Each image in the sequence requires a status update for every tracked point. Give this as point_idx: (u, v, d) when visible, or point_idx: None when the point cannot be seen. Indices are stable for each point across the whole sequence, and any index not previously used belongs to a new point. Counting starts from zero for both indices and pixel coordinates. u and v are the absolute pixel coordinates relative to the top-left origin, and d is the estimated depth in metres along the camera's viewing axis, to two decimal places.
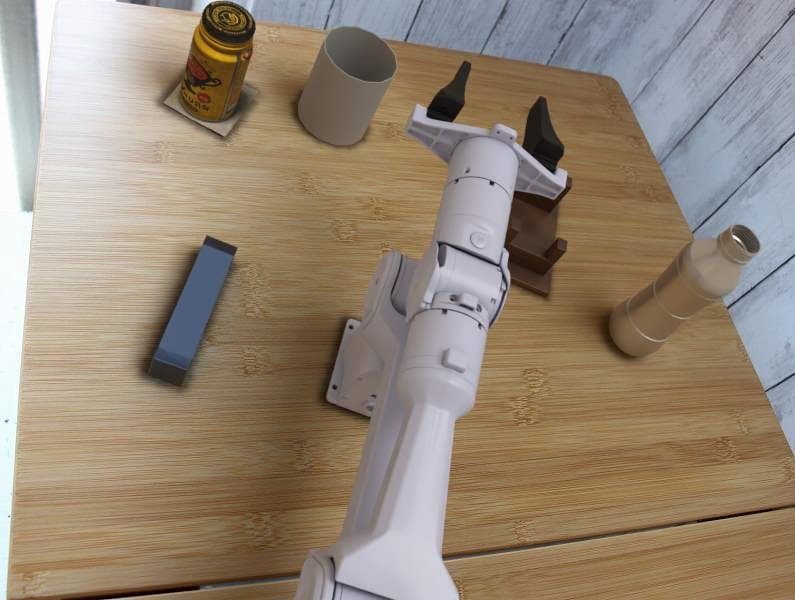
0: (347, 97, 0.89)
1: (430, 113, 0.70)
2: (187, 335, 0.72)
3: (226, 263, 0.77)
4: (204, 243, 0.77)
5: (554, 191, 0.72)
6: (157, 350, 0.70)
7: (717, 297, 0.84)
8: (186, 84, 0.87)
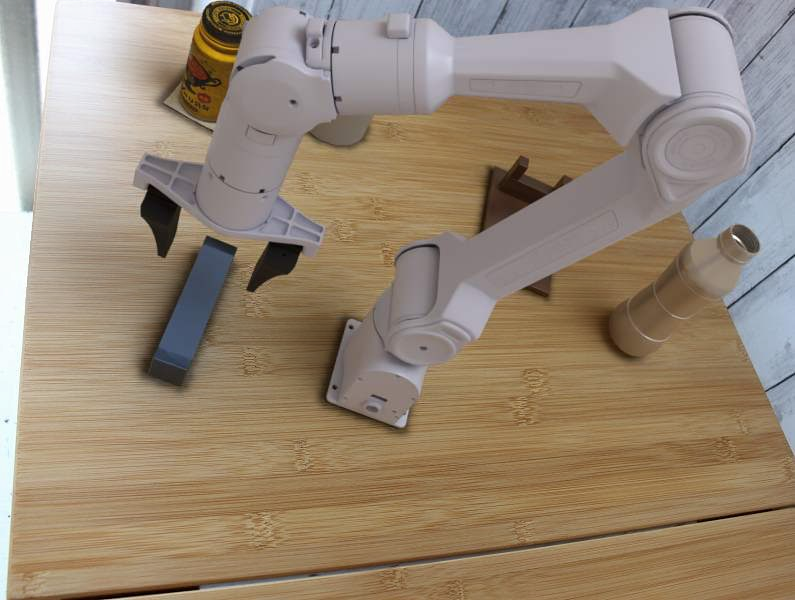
0: None
1: None
2: (187, 335, 0.72)
3: (226, 263, 0.77)
4: (204, 243, 0.77)
5: (317, 233, 0.64)
6: (157, 350, 0.70)
7: (717, 297, 0.84)
8: (186, 84, 0.87)
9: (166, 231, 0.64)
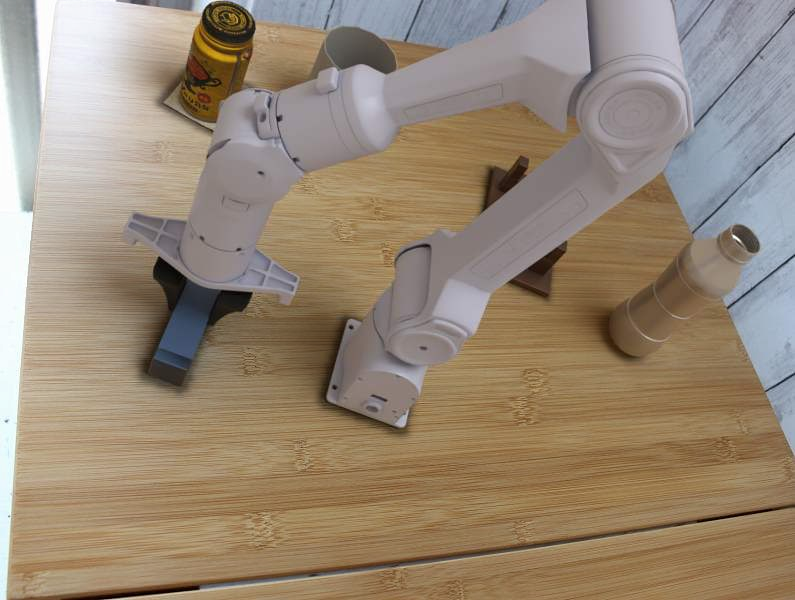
0: None
1: None
2: (187, 335, 0.72)
3: None
4: None
5: (291, 282, 0.69)
6: (157, 350, 0.70)
7: (717, 297, 0.84)
8: (186, 84, 0.87)
9: (176, 290, 0.70)
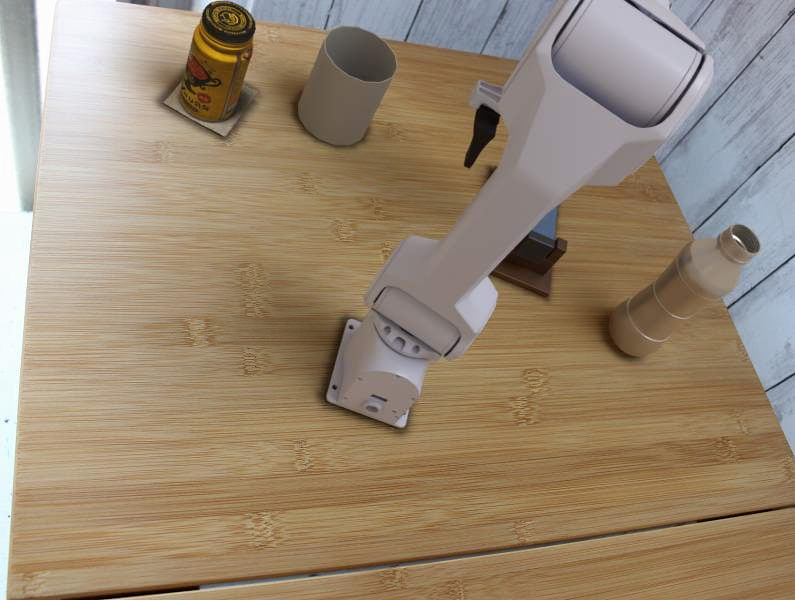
0: (347, 97, 0.89)
1: None
2: (546, 222, 0.91)
3: None
4: None
5: None
6: (530, 231, 0.90)
7: (717, 297, 0.84)
8: (186, 84, 0.87)
9: (487, 142, 0.82)
